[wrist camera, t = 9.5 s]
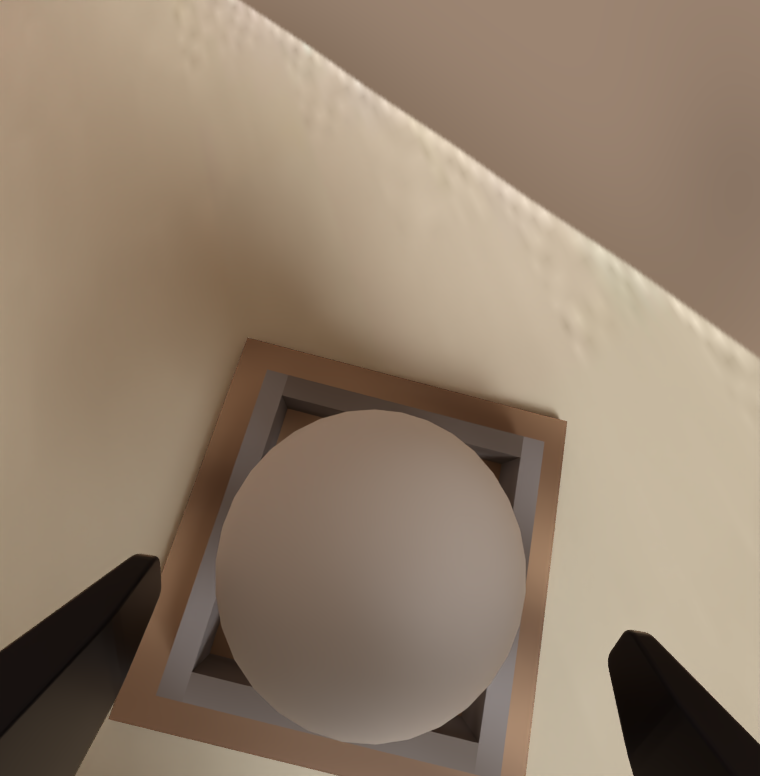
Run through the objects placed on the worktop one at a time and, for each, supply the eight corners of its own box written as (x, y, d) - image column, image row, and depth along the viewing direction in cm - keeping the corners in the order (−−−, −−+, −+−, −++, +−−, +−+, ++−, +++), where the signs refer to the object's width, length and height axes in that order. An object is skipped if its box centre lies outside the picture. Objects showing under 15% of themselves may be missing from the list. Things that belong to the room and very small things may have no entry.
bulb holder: (514, 810, 15) (547, 864, 13) (115, 712, 15) (74, 748, 13) (561, 423, 20) (592, 410, 17) (249, 342, 19) (237, 316, 17)
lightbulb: (300, 448, 18) (236, 333, 7) (450, 479, 18) (601, 411, 7) (257, 615, 16) (88, 785, 5) (425, 649, 16) (580, 884, 5)
